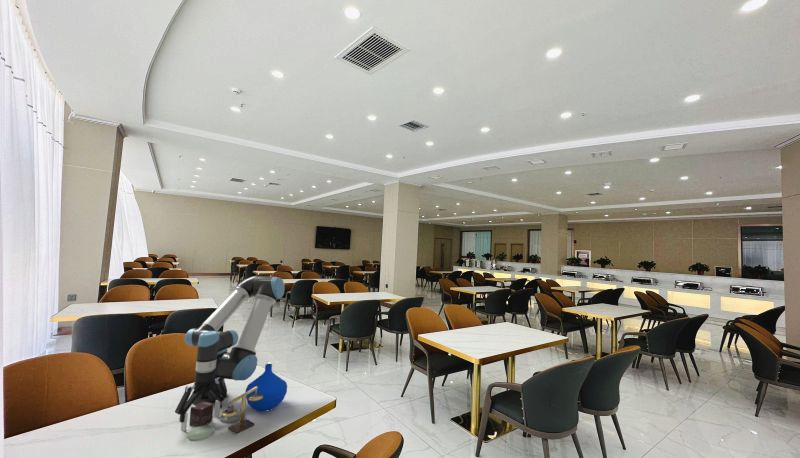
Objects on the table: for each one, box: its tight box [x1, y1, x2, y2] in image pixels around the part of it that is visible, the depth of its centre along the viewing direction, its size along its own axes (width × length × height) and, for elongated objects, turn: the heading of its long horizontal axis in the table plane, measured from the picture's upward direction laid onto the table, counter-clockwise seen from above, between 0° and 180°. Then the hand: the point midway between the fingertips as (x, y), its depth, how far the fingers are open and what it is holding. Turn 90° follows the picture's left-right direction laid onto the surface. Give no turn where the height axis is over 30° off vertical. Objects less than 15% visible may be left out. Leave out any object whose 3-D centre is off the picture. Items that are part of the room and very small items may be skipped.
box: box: [188, 401, 215, 428], centre depth 134 cm, size 6×6×7 cm
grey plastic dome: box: [219, 410, 241, 425], centre depth 139 cm, size 9×9×1 cm
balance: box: [221, 386, 263, 435], centre depth 133 cm, size 6×17×15 cm, turn 148°
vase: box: [244, 363, 288, 412], centre depth 152 cm, size 18×18×19 cm
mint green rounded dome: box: [186, 424, 215, 441], centre depth 127 cm, size 9×9×1 cm
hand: (200, 423), depth 134 cm, fingers open, 12 cm apart
